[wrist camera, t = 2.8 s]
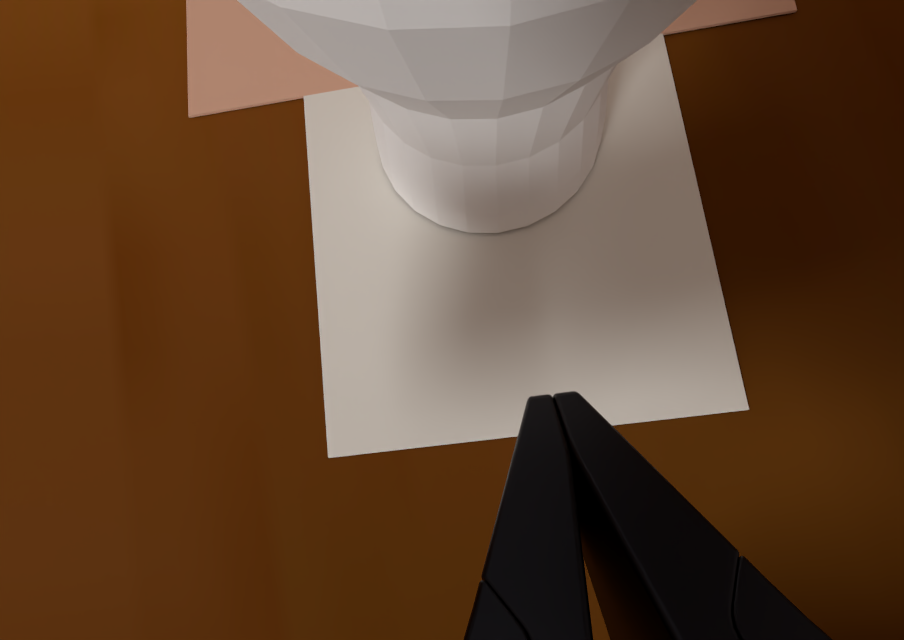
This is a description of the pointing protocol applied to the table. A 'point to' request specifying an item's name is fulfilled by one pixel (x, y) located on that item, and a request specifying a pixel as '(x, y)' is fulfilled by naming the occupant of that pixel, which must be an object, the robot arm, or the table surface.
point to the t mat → (496, 259)
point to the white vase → (477, 92)
